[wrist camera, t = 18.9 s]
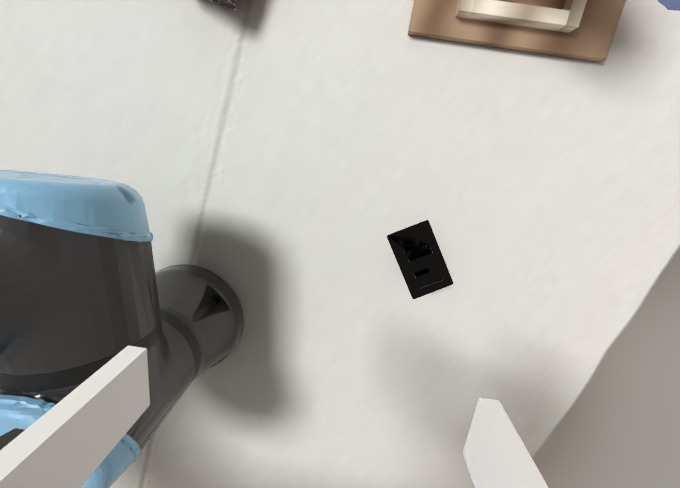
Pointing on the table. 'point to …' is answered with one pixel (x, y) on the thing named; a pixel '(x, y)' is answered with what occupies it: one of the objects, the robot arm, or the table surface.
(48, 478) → the robot arm
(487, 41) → the socket board
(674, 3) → the toy pieces
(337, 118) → the table surface
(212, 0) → the beverage can
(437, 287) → the black rectangular piece
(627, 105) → the table surface
